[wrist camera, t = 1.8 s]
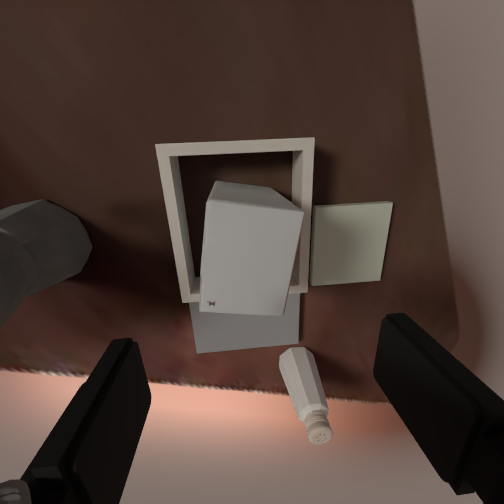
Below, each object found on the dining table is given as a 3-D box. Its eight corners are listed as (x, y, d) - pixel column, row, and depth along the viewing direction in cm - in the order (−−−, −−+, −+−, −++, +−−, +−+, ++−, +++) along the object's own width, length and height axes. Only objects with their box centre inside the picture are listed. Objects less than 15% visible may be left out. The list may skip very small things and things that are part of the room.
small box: (261, 253, 30) (284, 319, 18) (209, 248, 29) (196, 314, 17) (272, 186, 27) (307, 210, 15) (214, 178, 27) (203, 198, 14)
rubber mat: (313, 205, 29) (315, 207, 28) (387, 201, 29) (393, 202, 28) (309, 282, 32) (311, 286, 31) (375, 276, 33) (380, 280, 32)
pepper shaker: (272, 353, 36) (290, 431, 26) (307, 340, 36) (339, 414, 26) (284, 378, 38) (305, 459, 28) (317, 365, 38) (350, 443, 28)
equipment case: (166, 145, 25) (155, 144, 21) (302, 139, 26) (314, 137, 22) (197, 348, 35) (194, 371, 31) (296, 338, 35) (304, 360, 32)
